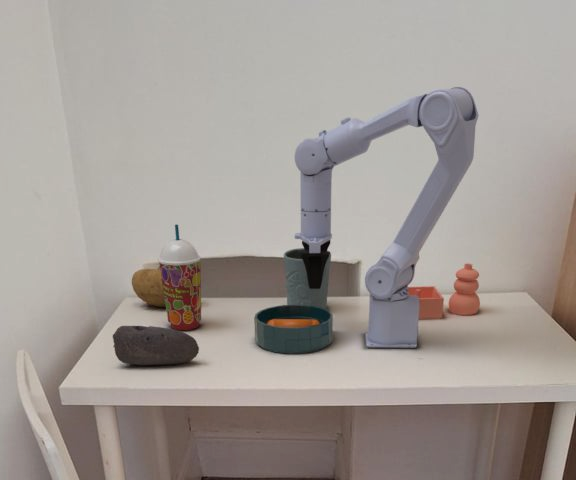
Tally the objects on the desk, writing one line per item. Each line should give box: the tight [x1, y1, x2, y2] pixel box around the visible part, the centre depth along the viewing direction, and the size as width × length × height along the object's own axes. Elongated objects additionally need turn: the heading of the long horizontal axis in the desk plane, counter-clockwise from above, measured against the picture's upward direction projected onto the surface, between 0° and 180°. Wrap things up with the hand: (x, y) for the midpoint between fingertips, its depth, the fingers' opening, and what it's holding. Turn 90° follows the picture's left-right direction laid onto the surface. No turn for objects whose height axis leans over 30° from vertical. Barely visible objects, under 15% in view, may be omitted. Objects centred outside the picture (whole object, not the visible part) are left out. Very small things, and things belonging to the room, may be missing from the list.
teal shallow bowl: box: [253, 304, 334, 355], centre depth 145 cm, size 15×15×5 cm
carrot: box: [267, 319, 320, 327], centre depth 145 cm, size 11×4×4 cm, turn 87°
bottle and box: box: [408, 263, 481, 320], centre depth 159 cm, size 18×10×10 cm, turn 92°
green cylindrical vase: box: [283, 247, 332, 310], centre depth 161 cm, size 10×10×12 cm
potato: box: [131, 268, 166, 308], centre depth 166 cm, size 10×14×8 cm
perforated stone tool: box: [112, 325, 200, 366], centre depth 134 cm, size 15×5×7 cm, turn 88°
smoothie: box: [157, 224, 202, 331], centre depth 150 cm, size 8×8×20 cm
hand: (315, 283), depth 147 cm, fingers open, 7 cm apart
